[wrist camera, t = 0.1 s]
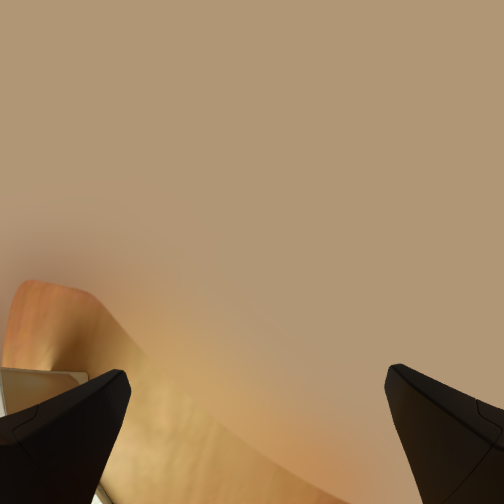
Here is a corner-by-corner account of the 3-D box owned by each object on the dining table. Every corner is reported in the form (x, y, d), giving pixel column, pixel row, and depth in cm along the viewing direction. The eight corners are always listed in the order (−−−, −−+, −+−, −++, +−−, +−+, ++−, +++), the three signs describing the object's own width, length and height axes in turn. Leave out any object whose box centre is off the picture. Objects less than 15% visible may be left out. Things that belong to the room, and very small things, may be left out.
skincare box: (54, 407, 20) (-29, 412, 9) (49, 370, 22) (-36, 361, 11) (96, 412, 21) (7, 427, 9) (90, 371, 22) (-3, 366, 11)
